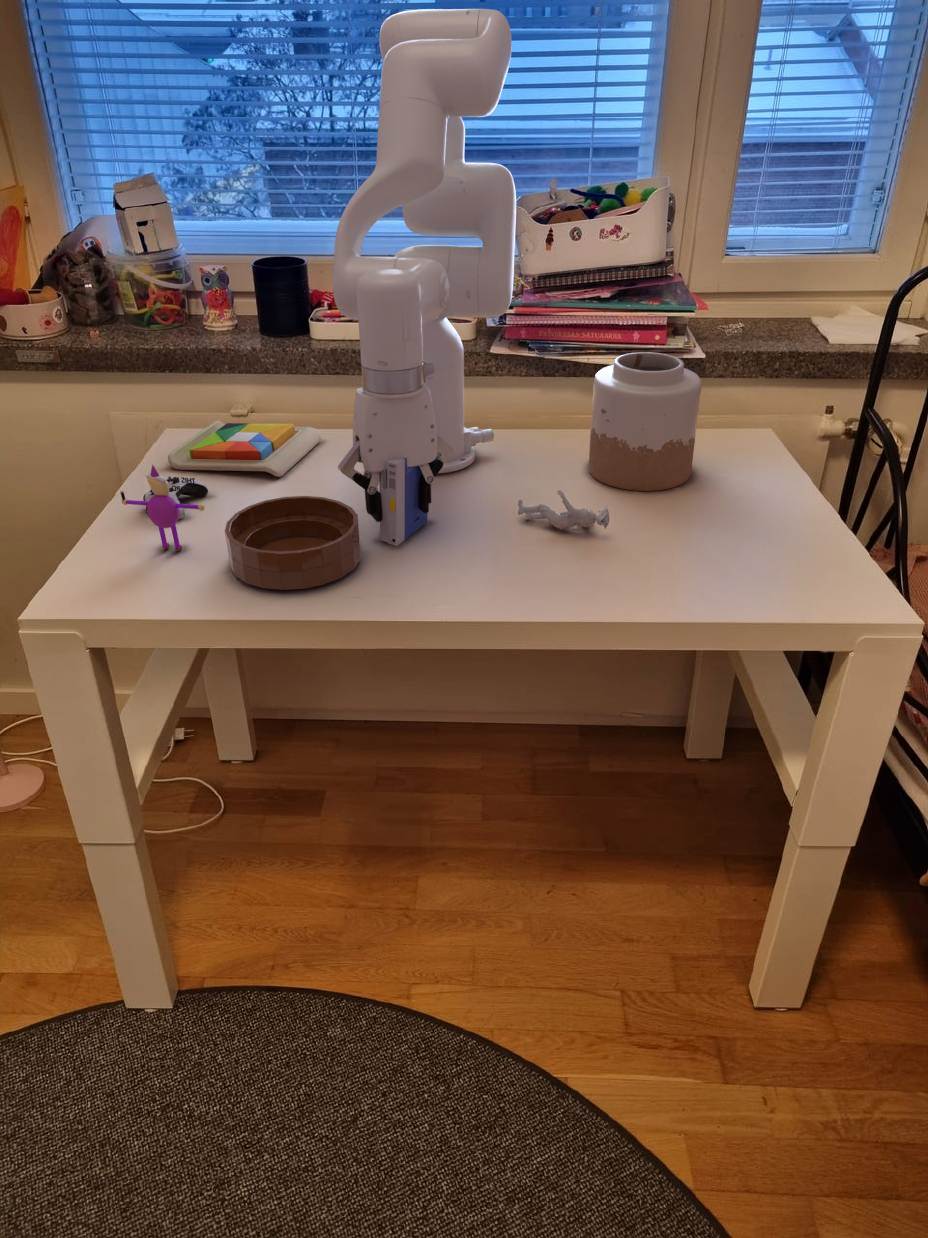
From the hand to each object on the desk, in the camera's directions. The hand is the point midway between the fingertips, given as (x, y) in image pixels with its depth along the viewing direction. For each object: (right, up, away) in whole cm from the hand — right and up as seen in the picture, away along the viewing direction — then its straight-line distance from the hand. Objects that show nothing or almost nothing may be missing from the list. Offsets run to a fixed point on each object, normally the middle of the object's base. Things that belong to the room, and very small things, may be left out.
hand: (399, 512), depth 127 cm
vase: (+35, +8, +19) cm, 41 cm away
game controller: (-33, +2, +11) cm, 34 cm away
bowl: (-13, -7, -5) cm, 15 cm away
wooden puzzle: (-26, +12, +27) cm, 39 cm away
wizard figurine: (-30, -5, -1) cm, 30 cm away
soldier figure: (+22, -2, +3) cm, 22 cm away
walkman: (0, -2, +2) cm, 4 cm away
